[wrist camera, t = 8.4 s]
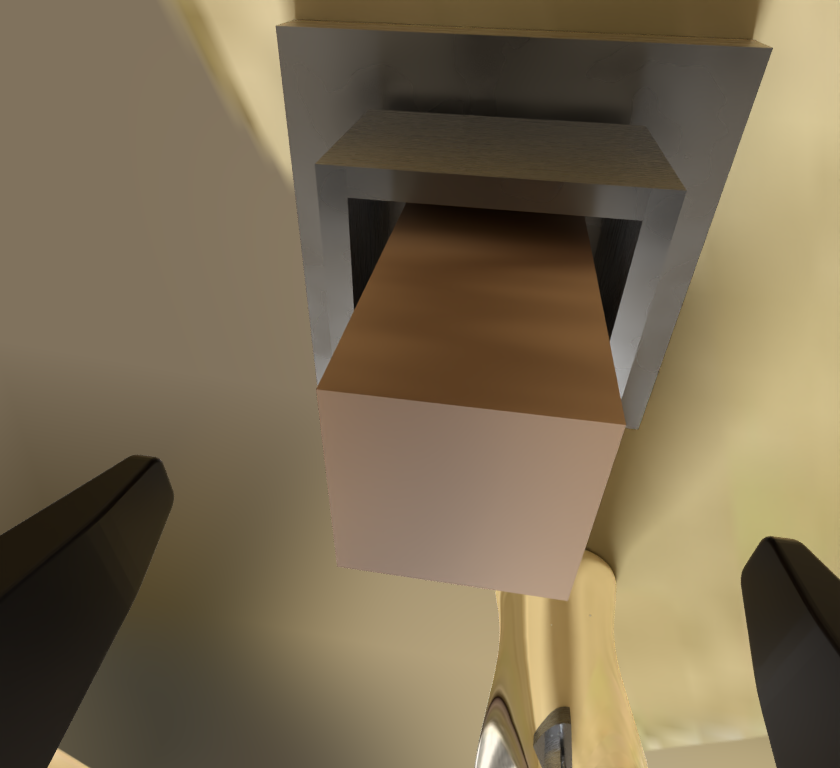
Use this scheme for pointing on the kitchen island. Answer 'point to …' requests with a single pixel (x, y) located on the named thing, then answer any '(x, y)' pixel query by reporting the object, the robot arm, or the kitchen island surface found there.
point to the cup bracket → (516, 155)
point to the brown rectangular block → (473, 403)
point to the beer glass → (560, 682)
